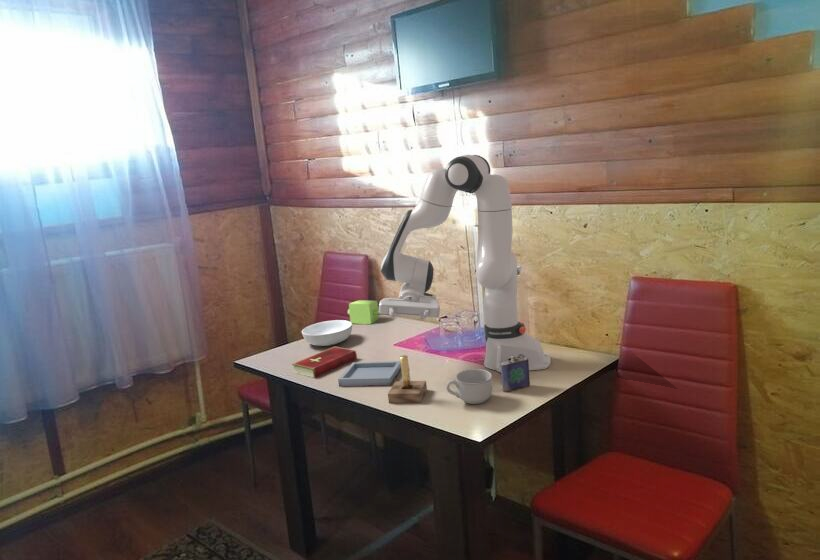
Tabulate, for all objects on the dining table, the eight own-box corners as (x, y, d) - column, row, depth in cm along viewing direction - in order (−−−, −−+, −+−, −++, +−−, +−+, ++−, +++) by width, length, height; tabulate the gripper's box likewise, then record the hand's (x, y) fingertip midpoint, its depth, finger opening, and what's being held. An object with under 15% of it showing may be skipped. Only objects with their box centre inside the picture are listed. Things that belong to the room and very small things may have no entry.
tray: (401, 367, 218) (401, 361, 217) (390, 385, 203) (389, 378, 202) (353, 369, 222) (352, 362, 222) (339, 386, 207) (338, 379, 206)
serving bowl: (333, 332, 272) (331, 317, 271) (364, 339, 257) (362, 323, 256) (294, 346, 258) (291, 330, 256) (324, 354, 243) (321, 337, 242)
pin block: (427, 389, 196) (426, 380, 195) (420, 402, 186) (419, 393, 186) (396, 390, 198) (395, 381, 198) (388, 402, 189) (387, 393, 188)
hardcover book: (357, 360, 233) (356, 349, 232) (314, 379, 217) (313, 368, 217) (336, 355, 241) (334, 345, 240) (293, 374, 225) (291, 363, 225)
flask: (505, 393, 187) (502, 359, 184) (500, 390, 189) (497, 357, 187) (531, 386, 189) (529, 353, 187) (526, 383, 192) (524, 350, 190)
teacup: (490, 391, 189) (488, 366, 188) (496, 405, 179) (494, 379, 177) (445, 396, 189) (442, 372, 187) (449, 411, 178) (446, 385, 177)
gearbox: (389, 319, 285) (388, 299, 283) (379, 325, 276) (378, 304, 274) (355, 318, 292) (353, 298, 291) (344, 323, 283) (343, 303, 282)
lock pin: (412, 394, 193) (408, 355, 190) (411, 397, 191) (406, 357, 188) (405, 394, 194) (400, 355, 191) (403, 397, 191) (399, 358, 189)
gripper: (380, 291, 211) (376, 304, 198) (440, 295, 210) (440, 309, 197) (379, 308, 213) (375, 323, 200) (439, 312, 212) (438, 327, 199)
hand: (408, 316), depth 198 cm, fingers open, 8 cm apart
